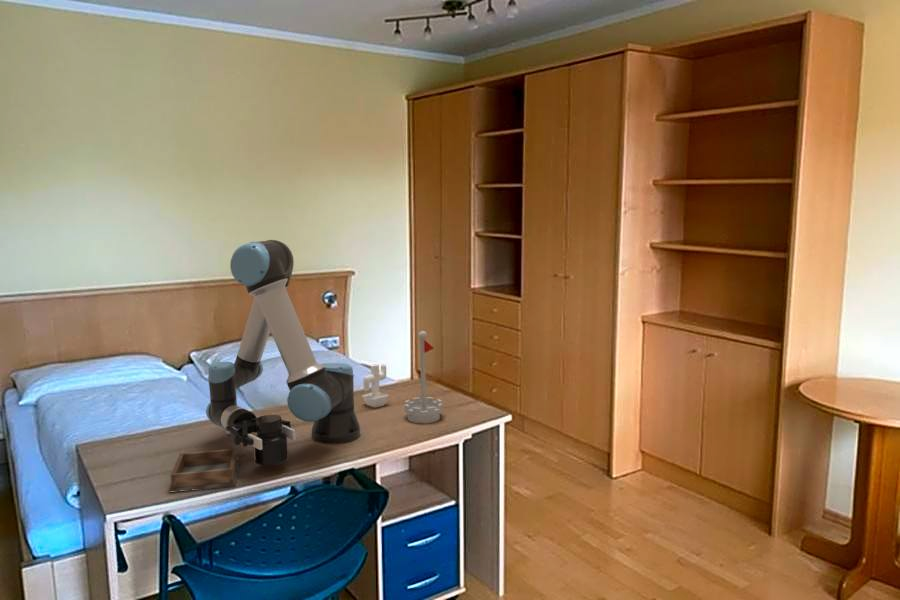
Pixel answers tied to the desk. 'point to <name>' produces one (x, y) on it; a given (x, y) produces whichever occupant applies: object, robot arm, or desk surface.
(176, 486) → the tray
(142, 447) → the desk surface
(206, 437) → the desk surface
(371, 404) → the figurine
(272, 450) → the ink bottle
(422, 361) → the flag stand
